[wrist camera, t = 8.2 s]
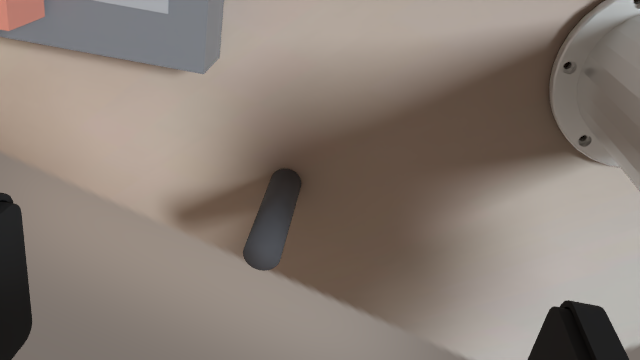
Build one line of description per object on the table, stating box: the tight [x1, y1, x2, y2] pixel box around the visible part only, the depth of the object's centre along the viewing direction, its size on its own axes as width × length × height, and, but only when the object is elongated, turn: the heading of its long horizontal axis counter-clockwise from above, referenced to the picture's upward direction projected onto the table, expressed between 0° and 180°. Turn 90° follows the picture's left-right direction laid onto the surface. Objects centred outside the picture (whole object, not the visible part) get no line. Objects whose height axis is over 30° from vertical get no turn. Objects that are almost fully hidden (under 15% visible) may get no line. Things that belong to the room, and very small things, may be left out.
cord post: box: [243, 169, 301, 270], centre depth 42 cm, size 2×2×10 cm
